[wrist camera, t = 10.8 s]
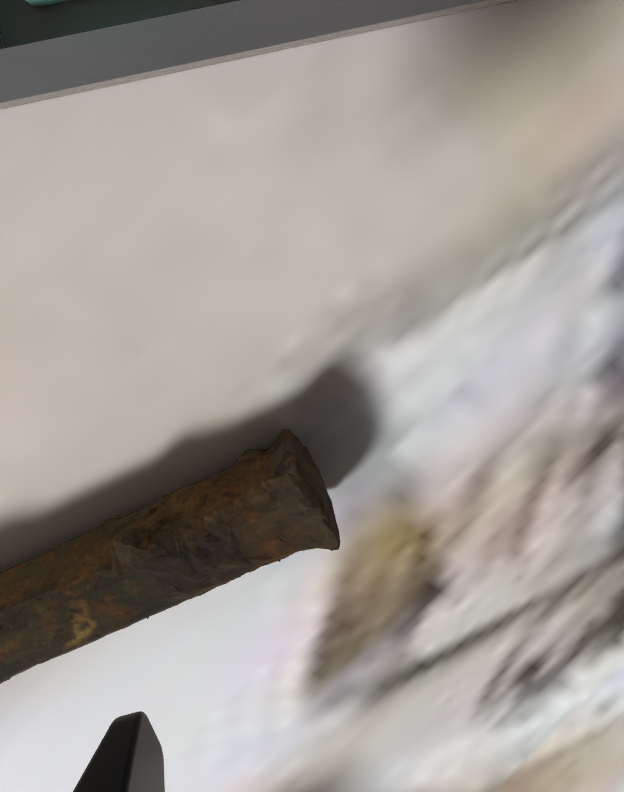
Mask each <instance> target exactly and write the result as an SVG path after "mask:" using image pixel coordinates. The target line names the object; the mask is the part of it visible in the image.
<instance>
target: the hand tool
mask: <svg viewBox="0 0 624 792" xmlns="http://www.w3.org/2000/svg"><path fill="white" fill-rule="evenodd" d="M339 547H340V537H339V530H338V526H337V523H336V519H335V514H334V510H333V506H332V501H331V499H330V497H329V495H328V492H327V489H326V487H325V484H324V481H323V479H322V477H321V474H320V472H319V470H318V468H317V466H316V465H315V463H314V461H313V459H312V457H311V455H310V453H309V451H308V449H307V448H306V447H303V446H302V444H301V443H300V441H299V440H298V438H297V437H295V436H294V435H293V434H292V433H291V432H290V430H289V429H285V430H283V431H282V432H281V433H280V435H279V436H278V438H277V440H276V442H275V443H274V445H273V447H272V448H270V449H268V450H267V451H262V450H246V451H245V452H244V453H243V454H242V456H241V457H240V458H238V460H237V462H236V464H235V465H233V466H231V467H229V468H227V469H225V470H223V471H221V472H219V473H217V474H215V475H213V476H211V477H209V478H208V479H205V480H203V481H200V482H198V483H195V484H192V485H189V486H186V487H183V488H181V489H179V490H178V491H176V492H174V493H172V494H169V495H166V496H164V497H163V498H162V499H160V500H159V501H158V502H156V503H155V504H153V505H150V506H148V507H146V508H143V509H141V510H138V511H136V512H134V513H132V514H129V515H127V516H125V517H122V518H120V519H108V520H107V521H106V522H105V523H104V524H103V525H102V526H101V527H99V528H97V529H95V530H93V531H90V532H88V533H86V534H84V535H82V536H80V537H77V538H75V539H72V540H69V541H67V542H65V543H64V544H62V545H61V546H59V547H57V548H55V549H53V550H51V551H49V552H47V553H44V554H42V555H40V556H38V557H36V558H33V559H31V560H29V561H27V562H24V563H22V564H20V565H18V566H15V567H13V568H10V569H8V570H6V571H4V572H1V573H0V684H1V683H2V682H4V681H7V680H9V679H11V677H13V676H15V675H16V674H19V673H21V672H23V671H25V670H27V669H29V668H31V667H33V666H35V665H37V664H40V663H44V662H46V661H48V660H50V659H52V658H55V657H57V656H60V655H63V654H65V653H68V652H70V651H72V650H75V649H77V648H80V647H82V646H84V645H87V644H89V643H91V642H94V641H96V640H98V639H100V638H102V637H104V636H106V635H108V634H110V633H113V632H115V631H118V630H120V629H124V628H126V627H128V626H130V625H132V624H134V623H136V622H138V621H140V620H143V619H145V618H147V619H148V618H149V616H152V615H154V614H157V613H159V612H162V611H164V610H166V609H168V608H171V607H173V606H175V605H178V604H180V603H182V602H184V601H186V600H188V599H192V598H194V597H196V596H201V595H202V594H204V593H206V592H208V591H210V590H212V589H213V588H215V587H217V586H220V585H223V584H226V583H228V582H229V581H231V580H234V579H235V578H238V577H241V575H244V574H245V573H247V572H251V571H254V570H256V569H258V568H259V567H261V566H264V565H268V564H270V563H273V562H276V561H279V562H280V560H281V559H284V558H286V557H288V556H289V555H291V554H293V553H295V552H298V551H301V550H303V551H304V550H308V549H314V548H321V549H330V550H331V551H332V550H338V549H339Z"/></svg>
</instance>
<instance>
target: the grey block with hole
mask: <svg viewBox="0 0 624 792" xmlns="http://www.w3.org/2000/svg"><path fill="white" fill-rule="evenodd" d="M511 1H516V0H238V1H234V2H229V3H224V4H219V5H214V6H209V7H204V8H199V9H195V10H190V11H185V12H180V13H175V14H170V15H165V16H160V17H156V18H151V19H146V20H141V21H136V22H131V23H126V24H121V25H116V26H112V27H107V28H102V29H97V30H92V31H87V32H82V33H77V34H73V35H68V36H63V37H58V38H53V39H48V40H43V41H38V42H34V43H29V44H24V45H19V46H14V47H9V48H6V47H5V44H4V41H3V39H2V36H1V33H0V109H4V108H9V107H14V106H18V105H23V104H28V103H33V102H37V101H42V100H47V99H52V98H56V97H61V96H66V95H71V94H75V93H80V92H85V91H90V90H94V89H99V88H104V87H109V86H113V85H118V84H123V83H127V82H132V81H137V80H142V79H146V78H151V77H156V76H161V75H165V74H170V73H175V72H180V71H184V70H189V69H194V68H199V67H203V66H208V65H213V64H218V63H222V62H227V61H232V60H236V59H241V58H246V57H251V56H255V55H260V54H265V53H270V52H274V51H279V50H284V49H289V48H293V47H298V46H303V45H308V44H312V43H317V42H322V41H327V40H331V39H336V38H341V37H346V36H350V35H355V34H360V33H364V32H369V31H374V30H379V29H383V28H388V27H393V26H398V25H402V24H407V23H412V22H417V21H421V20H426V19H431V18H436V17H440V16H445V15H450V14H455V13H459V12H464V11H469V10H473V9H478V8H483V7H488V6H492V5H497V4H502V3H507V2H511Z"/></svg>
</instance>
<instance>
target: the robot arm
mask: <svg viewBox="0 0 624 792" xmlns="http://www.w3.org/2000/svg"><path fill="white" fill-rule="evenodd" d="M73 792H165V785H164V759H163V752H162V748H161V745H160V742H159V740H158V738H157V736H156V734H155V732H154V730H153V728H152V726H151V723H150V721H149V719H148V717H147V716H146V714H145V713H144V712H135V713H131V714H128V715H124V716H120V717H118V718H116V719H115V720H114V721H113V722H112V724H111V725H110V727H109V729H108V731H107V732H106V734H105V736H104V738H103V739H102V741H101V743H100V745H99V746H98V748H97V750H96V752H95V754H94V755H93V757H92V759H91V761H90V762H89V764H88V766H87V768H86V769H85V771H84V773H83V775H82V777H81V778H80V780H79V782H78V784H77V785H76V787H75V789H74V791H73Z"/></svg>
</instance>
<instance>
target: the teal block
mask: <svg viewBox="0 0 624 792" xmlns="http://www.w3.org/2000/svg"><path fill="white" fill-rule="evenodd" d="M25 1H27V2H28V3H30V4H31V5H33V6H34V7H40V6H45V5H50V4H55V3H60V2H65V1H71V0H25Z"/></svg>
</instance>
